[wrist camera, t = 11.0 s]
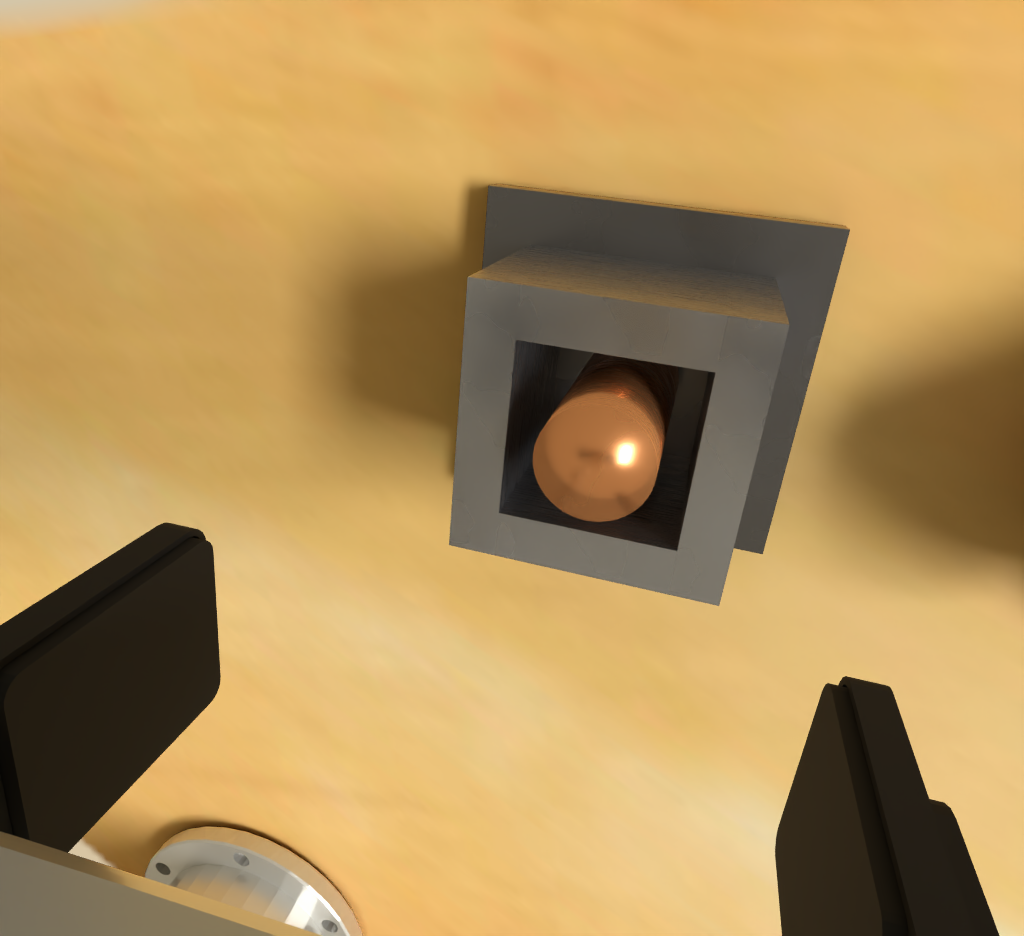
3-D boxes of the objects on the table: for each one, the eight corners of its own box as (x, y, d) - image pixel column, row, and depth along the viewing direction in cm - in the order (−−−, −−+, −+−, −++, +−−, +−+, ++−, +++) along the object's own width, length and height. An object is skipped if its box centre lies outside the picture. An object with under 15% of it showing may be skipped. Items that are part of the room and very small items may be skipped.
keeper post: (761, 539, 25) (771, 696, 18) (474, 480, 27) (381, 600, 20) (845, 226, 21) (900, 269, 14) (498, 183, 23) (391, 202, 16)
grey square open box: (722, 502, 24) (719, 606, 19) (509, 460, 25) (449, 545, 20) (776, 278, 21) (789, 324, 16) (531, 244, 22) (467, 276, 17)
